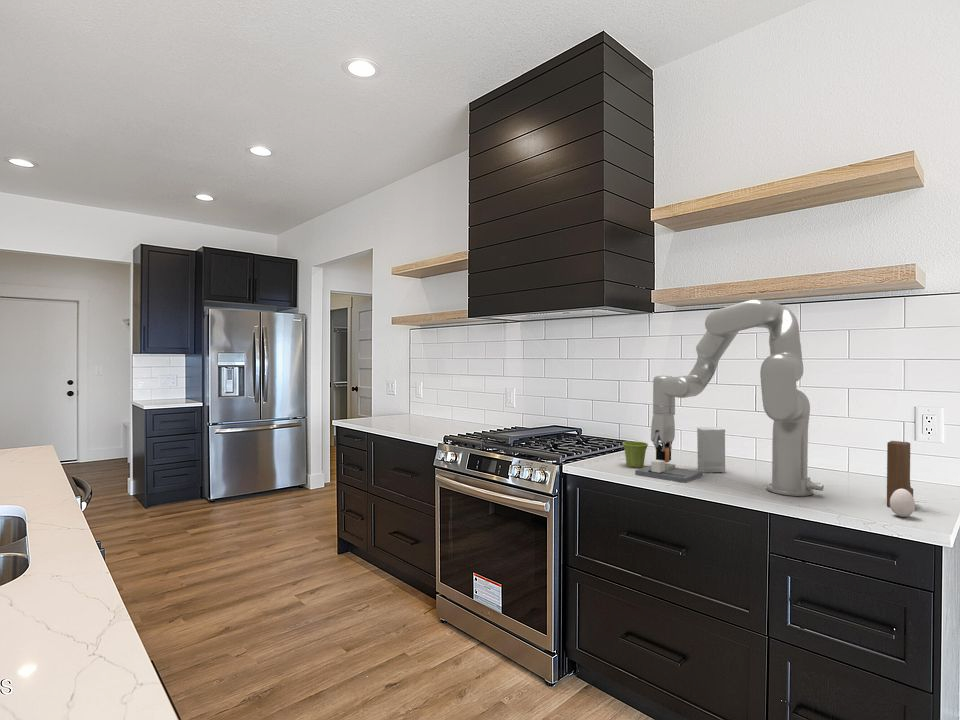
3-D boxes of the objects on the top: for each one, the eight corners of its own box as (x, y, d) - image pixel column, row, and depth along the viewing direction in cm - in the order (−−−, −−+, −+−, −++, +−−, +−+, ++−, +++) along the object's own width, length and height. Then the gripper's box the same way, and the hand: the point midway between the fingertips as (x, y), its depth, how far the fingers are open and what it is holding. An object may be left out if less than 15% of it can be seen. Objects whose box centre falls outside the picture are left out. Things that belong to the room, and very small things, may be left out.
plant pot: (653, 467, 208) (653, 444, 208) (632, 469, 205) (632, 446, 205) (637, 463, 217) (637, 440, 217) (617, 465, 214) (617, 442, 213)
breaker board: (702, 475, 195) (702, 469, 194) (685, 482, 184) (685, 476, 184) (653, 468, 207) (653, 462, 207) (635, 474, 197) (635, 468, 197)
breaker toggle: (664, 470, 194) (665, 460, 194) (659, 472, 191) (659, 462, 191) (656, 469, 196) (656, 459, 196) (651, 471, 193) (651, 461, 193)
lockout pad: (675, 467, 202) (675, 464, 202) (667, 469, 197) (667, 467, 197) (659, 465, 206) (659, 462, 206) (651, 467, 202) (651, 464, 202)
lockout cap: (671, 461, 202) (671, 447, 202) (666, 463, 199) (666, 448, 199) (660, 459, 205) (660, 446, 204) (655, 461, 202) (655, 447, 202)
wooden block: (894, 500, 162) (894, 438, 162) (913, 504, 159) (914, 440, 158) (886, 506, 156) (887, 442, 156) (906, 510, 153) (907, 444, 152)
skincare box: (720, 469, 205) (720, 426, 205) (726, 473, 199) (726, 429, 199) (696, 469, 206) (696, 426, 206) (701, 472, 200) (701, 429, 199)
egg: (891, 518, 146) (891, 489, 145) (888, 512, 150) (888, 485, 150) (916, 521, 143) (916, 492, 143) (913, 515, 148) (913, 487, 147)
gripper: (664, 407, 210) (664, 456, 210) (643, 411, 198) (642, 463, 198) (684, 409, 205) (683, 459, 205) (663, 413, 193) (662, 466, 193)
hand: (663, 460), depth 202 cm, fingers closed on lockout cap, 4 cm apart
